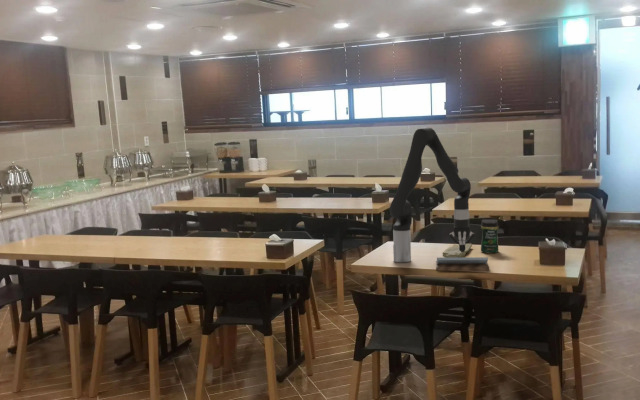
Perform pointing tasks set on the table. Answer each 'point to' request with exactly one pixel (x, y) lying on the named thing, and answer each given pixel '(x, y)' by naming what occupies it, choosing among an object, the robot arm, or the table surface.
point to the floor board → (462, 267)
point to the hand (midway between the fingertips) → (462, 251)
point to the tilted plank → (463, 260)
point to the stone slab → (456, 251)
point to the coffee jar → (489, 236)
